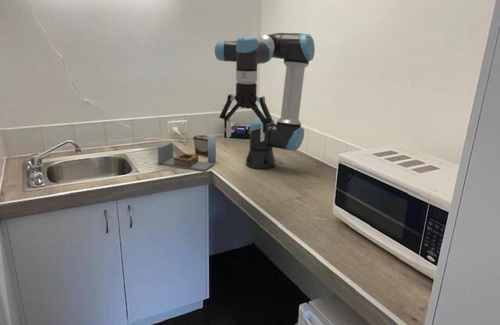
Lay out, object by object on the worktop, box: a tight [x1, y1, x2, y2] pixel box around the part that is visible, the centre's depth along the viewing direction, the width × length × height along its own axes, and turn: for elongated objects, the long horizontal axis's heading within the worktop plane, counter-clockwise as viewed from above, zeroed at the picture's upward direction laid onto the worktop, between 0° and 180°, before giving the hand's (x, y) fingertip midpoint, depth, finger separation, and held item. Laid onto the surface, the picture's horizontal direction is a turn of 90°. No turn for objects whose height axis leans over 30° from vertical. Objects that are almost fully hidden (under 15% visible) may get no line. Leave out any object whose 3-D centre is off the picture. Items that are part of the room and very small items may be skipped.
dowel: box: [207, 134, 217, 164], centre depth 193 cm, size 4×4×14 cm
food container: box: [192, 134, 209, 158], centre depth 206 cm, size 12×6×10 cm, turn 58°
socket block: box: [173, 152, 199, 166], centre depth 190 cm, size 9×9×3 cm
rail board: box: [157, 141, 215, 173], centre depth 189 cm, size 10×26×9 cm, turn 70°
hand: (245, 138), depth 144 cm, fingers open, 13 cm apart
